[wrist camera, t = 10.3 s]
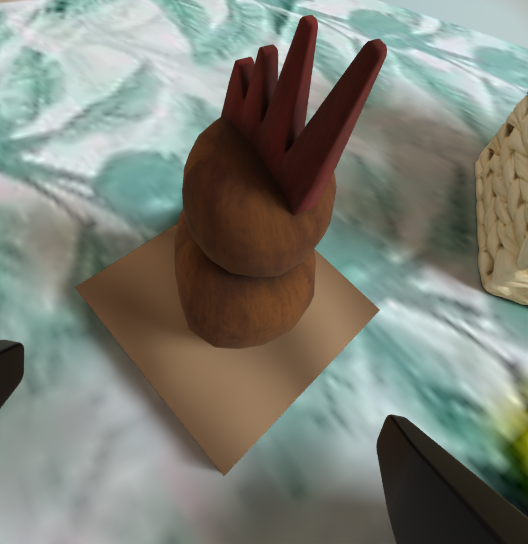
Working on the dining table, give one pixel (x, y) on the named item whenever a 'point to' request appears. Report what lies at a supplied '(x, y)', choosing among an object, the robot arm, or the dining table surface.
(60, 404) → the dining table surface
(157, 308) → the light brown wooden stand
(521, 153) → the storage basket
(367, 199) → the dining table surface
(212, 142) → the wooden figurine
